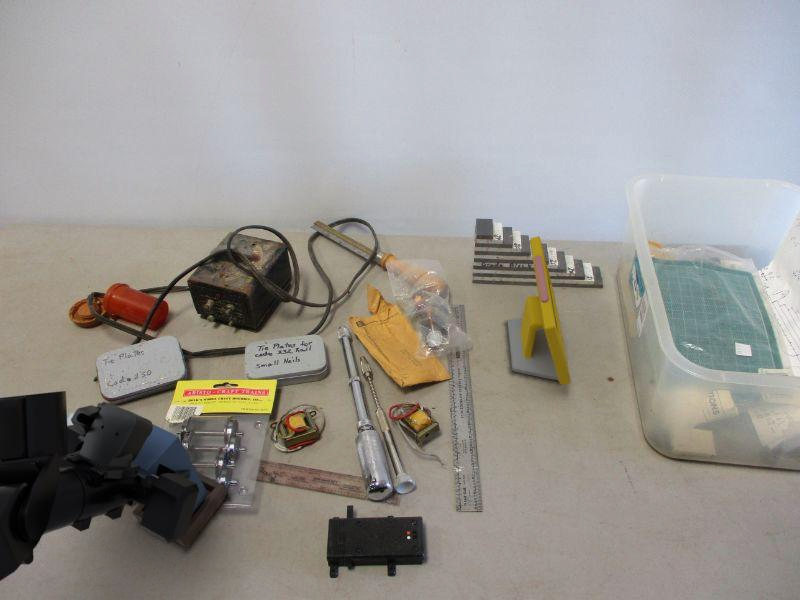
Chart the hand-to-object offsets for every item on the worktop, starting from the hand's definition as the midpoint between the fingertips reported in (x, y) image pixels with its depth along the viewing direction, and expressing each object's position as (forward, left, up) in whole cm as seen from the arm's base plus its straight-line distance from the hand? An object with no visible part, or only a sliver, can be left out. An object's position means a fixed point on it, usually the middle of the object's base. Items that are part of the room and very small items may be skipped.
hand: (172, 465), depth 72 cm
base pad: (-1, +1, -9) cm, 9 cm away
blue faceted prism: (-1, 0, -7) cm, 7 cm away
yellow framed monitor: (+27, -49, -9) cm, 57 cm away
